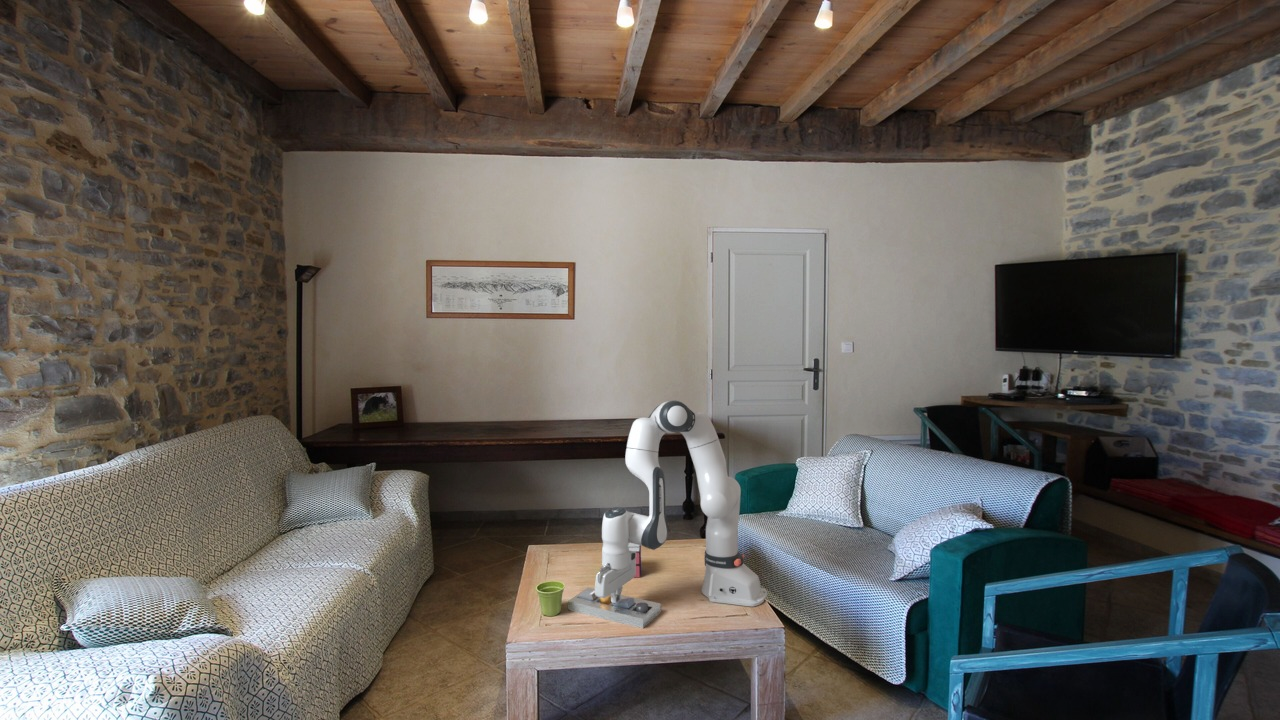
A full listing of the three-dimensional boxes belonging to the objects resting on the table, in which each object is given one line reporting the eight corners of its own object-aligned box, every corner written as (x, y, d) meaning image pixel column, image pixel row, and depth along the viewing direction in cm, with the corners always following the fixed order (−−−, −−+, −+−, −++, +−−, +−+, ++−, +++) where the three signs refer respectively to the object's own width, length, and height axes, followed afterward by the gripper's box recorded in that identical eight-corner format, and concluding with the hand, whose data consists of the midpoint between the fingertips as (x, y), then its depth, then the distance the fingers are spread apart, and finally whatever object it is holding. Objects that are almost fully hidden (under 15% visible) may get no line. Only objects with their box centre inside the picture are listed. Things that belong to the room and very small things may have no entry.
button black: (650, 615, 198) (650, 603, 198) (644, 619, 195) (644, 608, 195) (639, 612, 200) (639, 601, 200) (634, 617, 197) (634, 606, 196)
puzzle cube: (640, 578, 229) (640, 551, 229) (613, 578, 230) (613, 551, 229) (641, 567, 239) (640, 542, 239) (615, 568, 240) (614, 542, 239)
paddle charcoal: (599, 595, 207) (598, 589, 207) (592, 600, 204) (591, 594, 204) (586, 596, 210) (584, 591, 210) (579, 601, 206) (578, 595, 207)
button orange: (614, 601, 204) (613, 590, 204) (608, 605, 201) (607, 594, 201) (604, 598, 206) (604, 588, 206) (598, 603, 203) (597, 592, 203)
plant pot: (538, 621, 196) (537, 594, 196) (534, 608, 205) (534, 582, 205) (567, 616, 199) (567, 590, 199) (562, 604, 208) (562, 579, 208)
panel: (660, 612, 201) (660, 603, 201) (643, 628, 190) (642, 618, 190) (588, 596, 214) (588, 587, 214) (568, 609, 204) (567, 601, 204)
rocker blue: (634, 603, 201) (633, 597, 201) (628, 608, 197) (626, 602, 198) (620, 605, 203) (619, 599, 204) (614, 610, 200) (612, 604, 200)
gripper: (606, 571, 191) (607, 615, 191) (639, 551, 208) (639, 591, 209) (589, 568, 194) (589, 611, 194) (622, 547, 211) (623, 587, 212)
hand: (615, 600), depth 202 cm, fingers closed, pressing on rocker blue
